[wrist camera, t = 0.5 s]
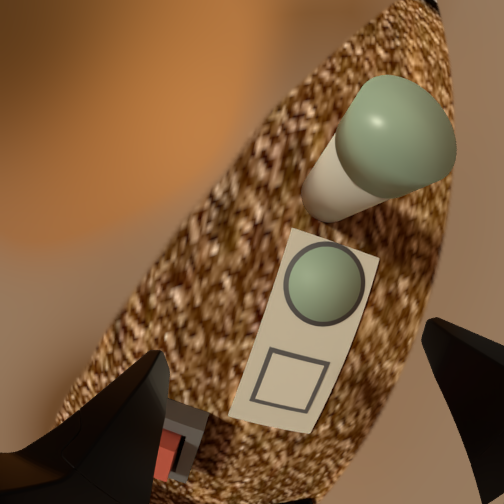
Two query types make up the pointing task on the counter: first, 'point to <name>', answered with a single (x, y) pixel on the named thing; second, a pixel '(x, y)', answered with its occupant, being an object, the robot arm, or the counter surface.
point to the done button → (166, 454)
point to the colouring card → (304, 333)
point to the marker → (380, 150)
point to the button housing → (189, 425)
